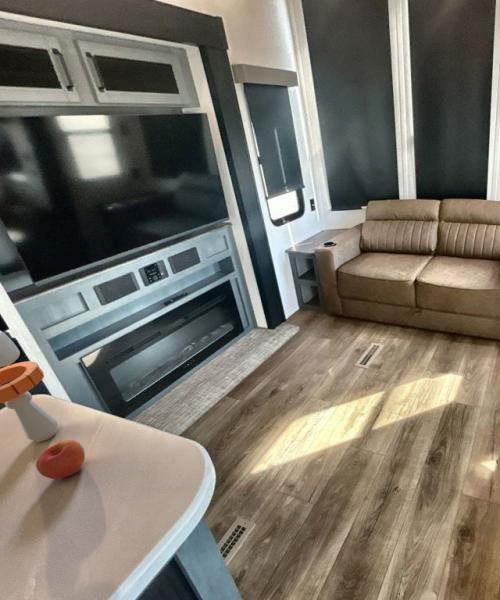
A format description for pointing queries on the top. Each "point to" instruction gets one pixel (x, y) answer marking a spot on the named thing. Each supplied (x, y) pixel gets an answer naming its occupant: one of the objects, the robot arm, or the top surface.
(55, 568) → the top surface
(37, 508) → the top surface
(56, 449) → the apple
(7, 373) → the orange ring
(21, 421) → the salt shaker
